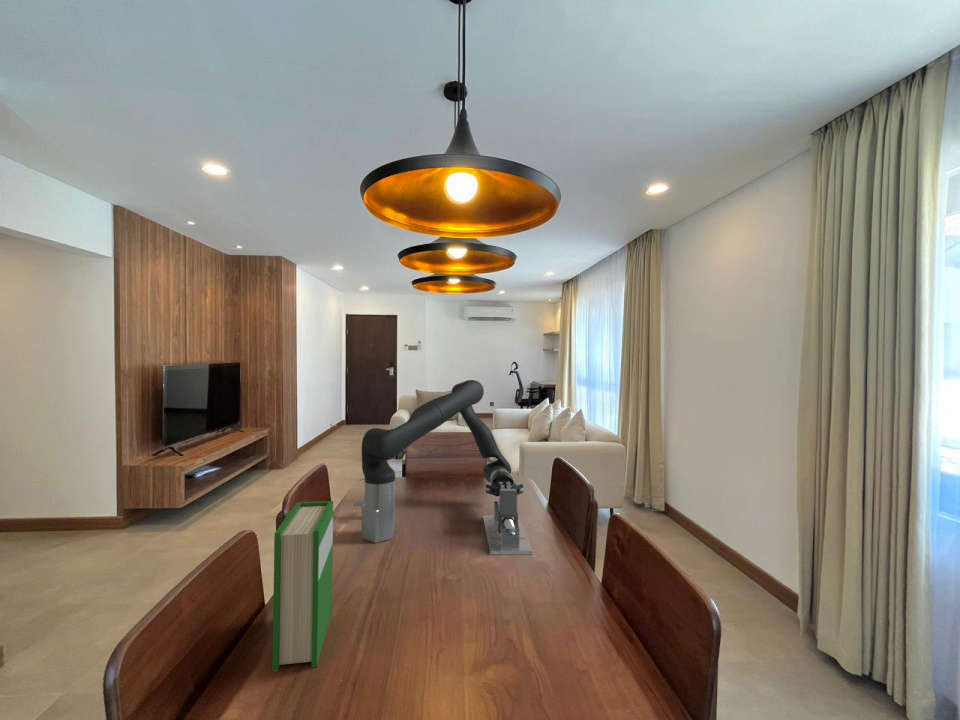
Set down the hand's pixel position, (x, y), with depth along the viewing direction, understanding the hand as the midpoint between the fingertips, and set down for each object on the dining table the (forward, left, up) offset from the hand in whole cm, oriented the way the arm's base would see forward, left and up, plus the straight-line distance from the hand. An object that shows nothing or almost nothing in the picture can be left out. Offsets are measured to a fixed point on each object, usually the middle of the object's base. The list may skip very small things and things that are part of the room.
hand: (507, 496), depth 138 cm
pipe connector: (-9, +50, -14) cm, 53 cm away
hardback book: (-65, +10, -14) cm, 67 cm away
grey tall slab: (-1, -1, -10) cm, 10 cm away
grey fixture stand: (+4, +3, -13) cm, 15 cm away
